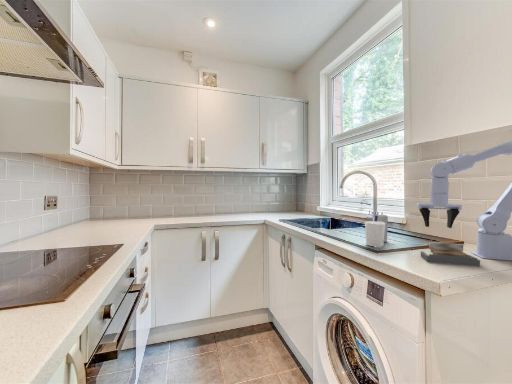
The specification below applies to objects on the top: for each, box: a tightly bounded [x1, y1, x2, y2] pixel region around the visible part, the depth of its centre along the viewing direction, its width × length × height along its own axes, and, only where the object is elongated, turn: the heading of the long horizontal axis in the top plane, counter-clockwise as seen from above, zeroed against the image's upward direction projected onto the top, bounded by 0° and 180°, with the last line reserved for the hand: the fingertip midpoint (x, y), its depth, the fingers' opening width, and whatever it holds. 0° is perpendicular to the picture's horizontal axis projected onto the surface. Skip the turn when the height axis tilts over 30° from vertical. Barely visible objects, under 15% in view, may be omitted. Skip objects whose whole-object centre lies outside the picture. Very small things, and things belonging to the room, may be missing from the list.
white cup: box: [364, 220, 386, 248], centre depth 105 cm, size 8×8×10 cm
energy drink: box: [374, 214, 389, 243], centre depth 113 cm, size 5×5×12 cm
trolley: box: [428, 241, 469, 257], centre depth 85 cm, size 10×5×4 cm, turn 73°
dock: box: [418, 250, 481, 267], centre depth 87 cm, size 15×11×3 cm
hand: (438, 227), depth 98 cm, fingers open, 7 cm apart
